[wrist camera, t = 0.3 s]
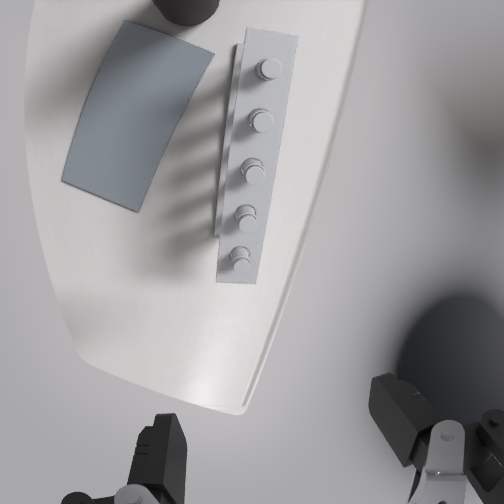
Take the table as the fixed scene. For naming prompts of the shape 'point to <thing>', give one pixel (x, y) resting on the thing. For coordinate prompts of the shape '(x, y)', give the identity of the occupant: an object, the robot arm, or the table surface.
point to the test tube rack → (251, 150)
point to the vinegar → (187, 10)
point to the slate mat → (133, 113)
